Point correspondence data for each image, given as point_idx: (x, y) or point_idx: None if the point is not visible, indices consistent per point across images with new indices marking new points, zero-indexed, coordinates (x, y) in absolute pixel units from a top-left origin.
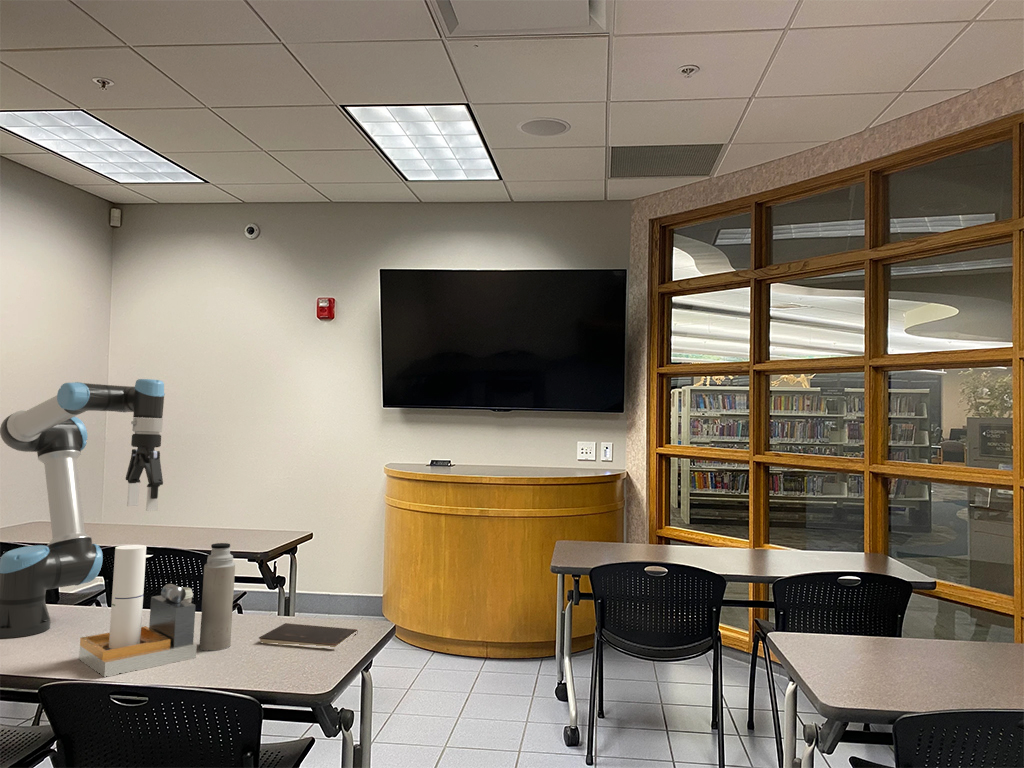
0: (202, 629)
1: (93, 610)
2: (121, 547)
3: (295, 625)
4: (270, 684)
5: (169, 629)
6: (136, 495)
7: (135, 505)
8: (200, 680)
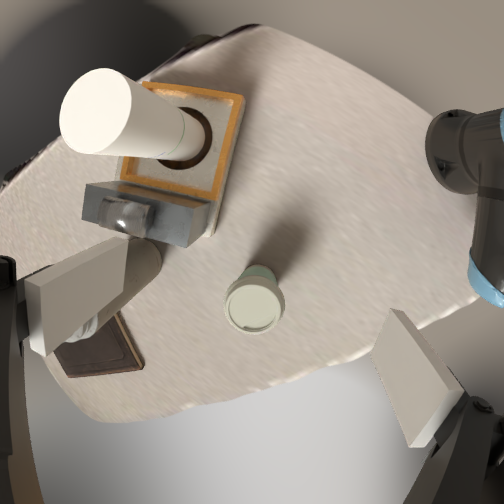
0: (130, 245)
1: (466, 284)
2: (105, 85)
3: (121, 365)
4: (10, 201)
5: (125, 185)
6: (392, 379)
7: (375, 344)
8: (56, 160)
